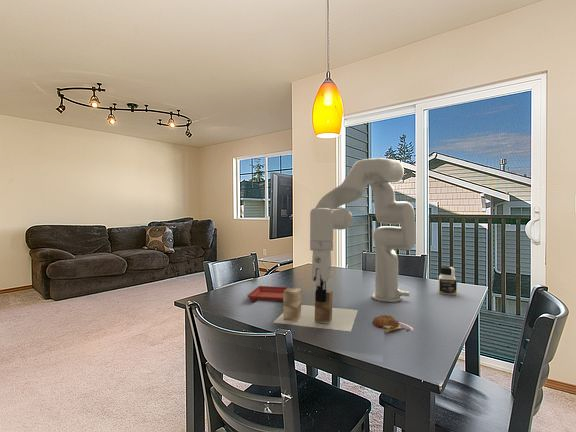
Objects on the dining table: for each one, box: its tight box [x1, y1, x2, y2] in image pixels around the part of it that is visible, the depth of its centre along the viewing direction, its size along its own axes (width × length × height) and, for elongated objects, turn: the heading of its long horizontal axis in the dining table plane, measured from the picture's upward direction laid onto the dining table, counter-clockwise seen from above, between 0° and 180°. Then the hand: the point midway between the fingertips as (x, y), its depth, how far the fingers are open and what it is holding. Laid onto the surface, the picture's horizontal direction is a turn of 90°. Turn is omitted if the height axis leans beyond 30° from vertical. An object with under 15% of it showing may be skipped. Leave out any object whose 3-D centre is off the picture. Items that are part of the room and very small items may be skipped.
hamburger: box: [372, 314, 414, 334], centre depth 109 cm, size 14×14×6 cm
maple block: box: [282, 287, 302, 321], centre depth 115 cm, size 5×5×10 cm
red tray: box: [247, 285, 291, 303], centre depth 145 cm, size 18×18×3 cm
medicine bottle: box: [438, 265, 458, 296], centre depth 153 cm, size 7×7×12 cm
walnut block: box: [314, 289, 333, 323], centre depth 112 cm, size 5×5×10 cm
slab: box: [272, 304, 359, 332], centre depth 117 cm, size 26×22×1 cm
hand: (321, 301), depth 108 cm, fingers closed
